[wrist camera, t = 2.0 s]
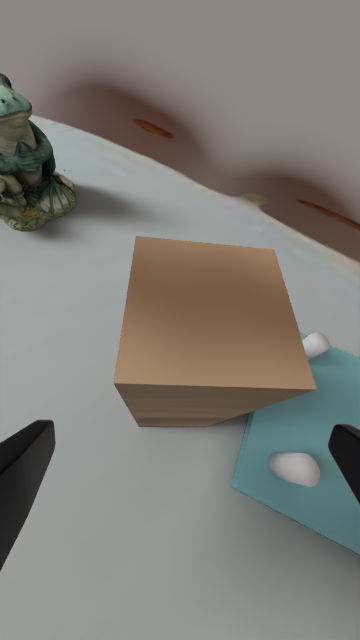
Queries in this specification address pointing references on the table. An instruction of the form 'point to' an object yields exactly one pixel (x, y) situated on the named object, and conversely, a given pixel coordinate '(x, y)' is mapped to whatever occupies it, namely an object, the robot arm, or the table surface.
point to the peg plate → (306, 448)
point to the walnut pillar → (207, 334)
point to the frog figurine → (28, 168)
